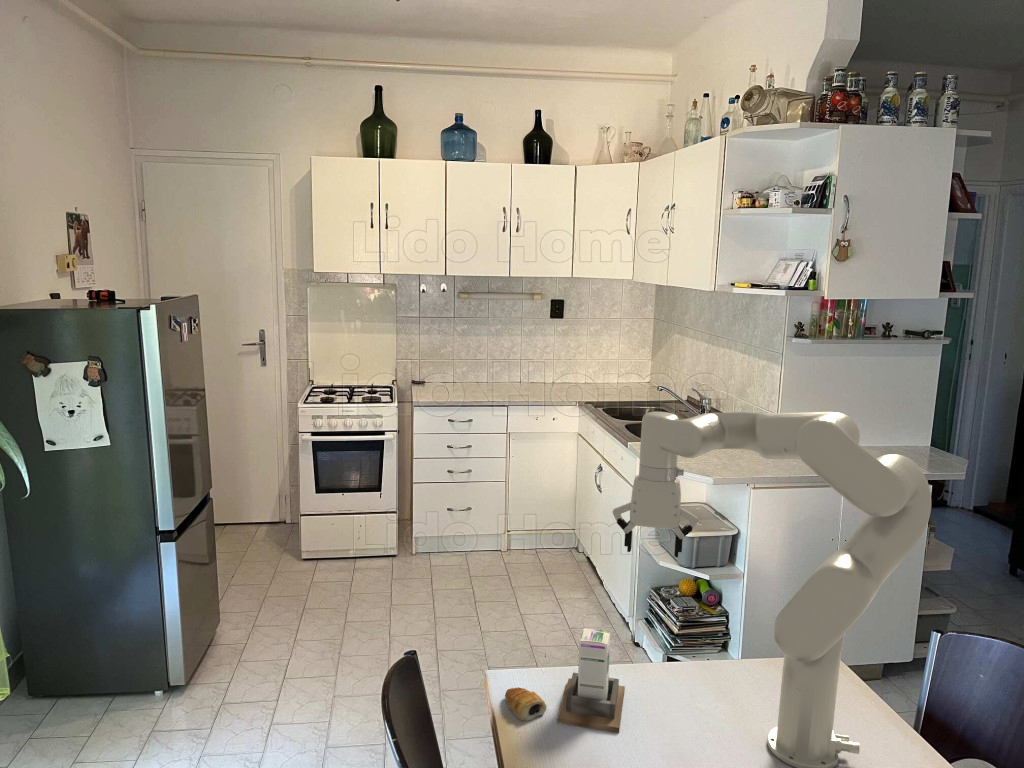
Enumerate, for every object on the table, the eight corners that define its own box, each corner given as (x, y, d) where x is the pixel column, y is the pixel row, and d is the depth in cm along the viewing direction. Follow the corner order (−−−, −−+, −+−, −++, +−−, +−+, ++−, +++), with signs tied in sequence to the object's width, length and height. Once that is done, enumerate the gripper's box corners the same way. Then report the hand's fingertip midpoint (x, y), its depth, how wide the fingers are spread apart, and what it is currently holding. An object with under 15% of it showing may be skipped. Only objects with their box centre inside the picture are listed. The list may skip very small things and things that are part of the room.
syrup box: (605, 711, 150) (609, 643, 148) (575, 707, 151) (579, 639, 149) (608, 696, 156) (611, 630, 153) (579, 692, 157) (582, 626, 155)
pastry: (496, 701, 155) (497, 684, 154) (523, 692, 159) (524, 675, 158) (522, 724, 147) (523, 706, 147) (550, 714, 151) (550, 697, 150)
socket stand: (624, 690, 160) (625, 673, 159) (619, 732, 145) (620, 713, 145) (568, 682, 162) (569, 665, 162) (557, 722, 148) (558, 704, 147)
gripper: (700, 471, 156) (694, 550, 158) (616, 464, 159) (612, 541, 162) (701, 481, 149) (695, 563, 151) (613, 473, 152) (609, 554, 155)
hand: (652, 552), depth 157 cm, fingers open, 9 cm apart
